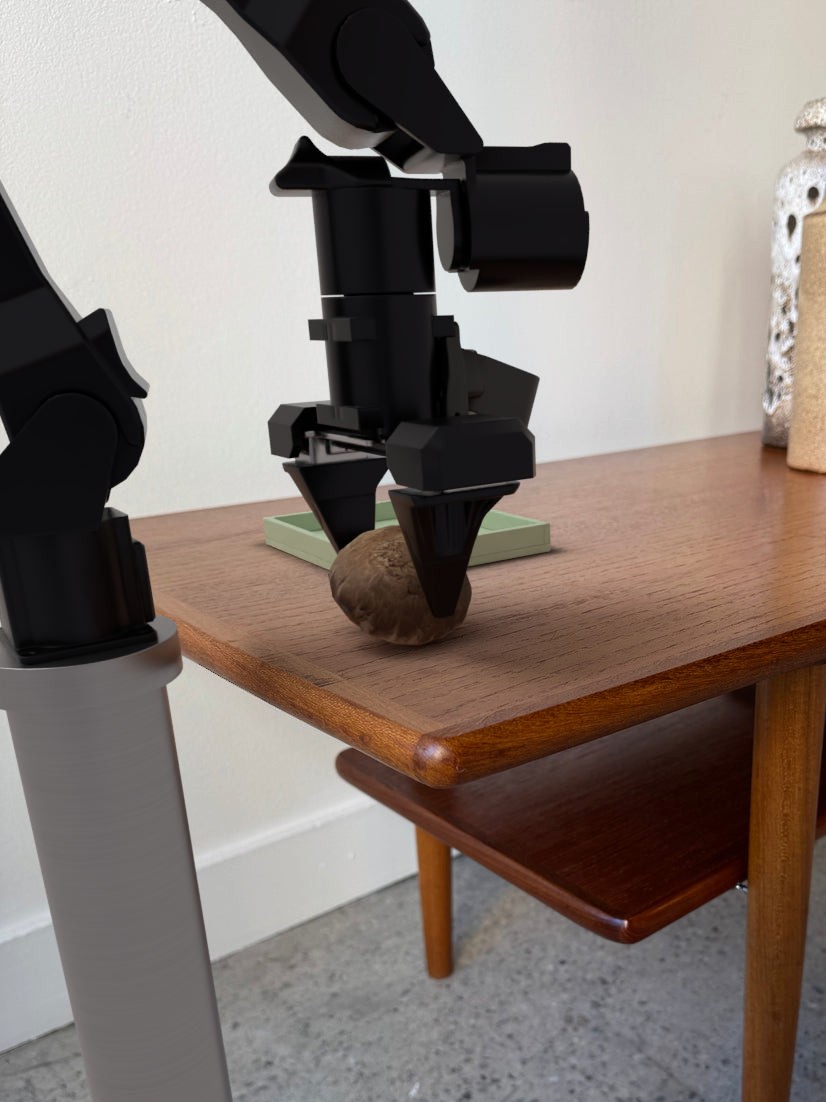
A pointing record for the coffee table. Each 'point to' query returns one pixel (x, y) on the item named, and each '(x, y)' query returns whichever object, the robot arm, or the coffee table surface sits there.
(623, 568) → the coffee table surface
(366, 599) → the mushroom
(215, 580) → the coffee table surface
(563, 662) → the coffee table surface
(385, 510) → the tray
